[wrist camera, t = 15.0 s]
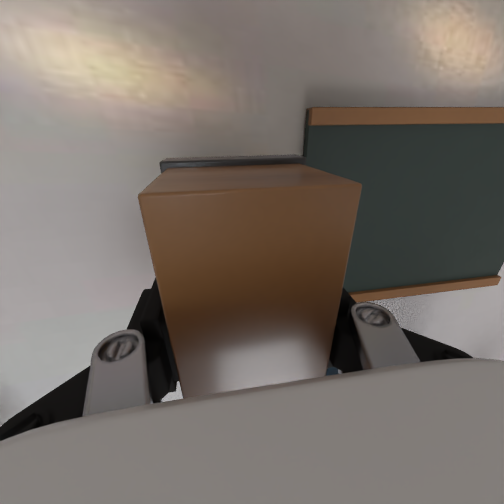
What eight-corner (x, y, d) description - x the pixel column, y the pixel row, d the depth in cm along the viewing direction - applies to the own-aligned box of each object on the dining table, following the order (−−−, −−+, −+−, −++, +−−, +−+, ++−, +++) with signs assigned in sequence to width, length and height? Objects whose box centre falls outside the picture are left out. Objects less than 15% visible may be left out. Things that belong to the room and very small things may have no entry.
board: (306, 108, 16) (312, 107, 15) (571, 108, 19) (588, 107, 18) (292, 303, 23) (295, 310, 22) (487, 280, 26) (497, 285, 25)
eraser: (164, 157, 9) (121, 183, 4) (296, 154, 9) (374, 172, 5) (198, 364, 14) (194, 475, 9) (283, 351, 14) (317, 448, 10)
